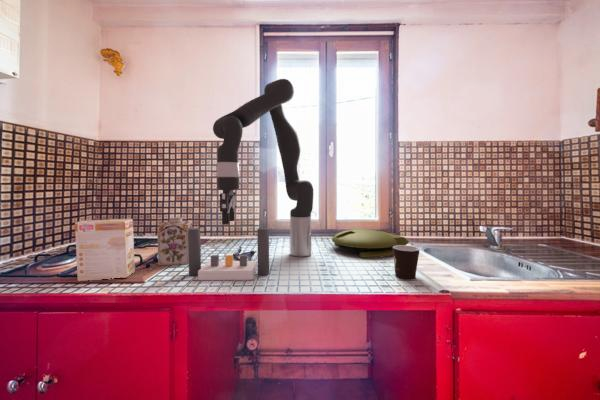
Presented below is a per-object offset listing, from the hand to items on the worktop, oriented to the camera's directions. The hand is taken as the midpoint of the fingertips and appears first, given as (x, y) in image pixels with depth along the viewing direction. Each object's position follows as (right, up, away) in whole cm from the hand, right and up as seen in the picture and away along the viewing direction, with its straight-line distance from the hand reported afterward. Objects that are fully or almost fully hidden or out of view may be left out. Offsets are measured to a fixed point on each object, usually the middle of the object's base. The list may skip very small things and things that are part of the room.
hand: (228, 222), depth 99 cm
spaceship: (+58, -17, +39) cm, 72 cm away
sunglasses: (+1, -18, +22) cm, 28 cm away
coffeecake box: (-41, -19, -2) cm, 45 cm away
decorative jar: (-25, -18, +17) cm, 35 cm away
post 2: (+12, -18, +1) cm, 22 cm away
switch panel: (0, -18, +1) cm, 18 cm away
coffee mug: (+62, -19, 0) cm, 65 cm away
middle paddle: (0, -15, +1) cm, 15 cm away
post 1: (-12, -18, +1) cm, 22 cm away
